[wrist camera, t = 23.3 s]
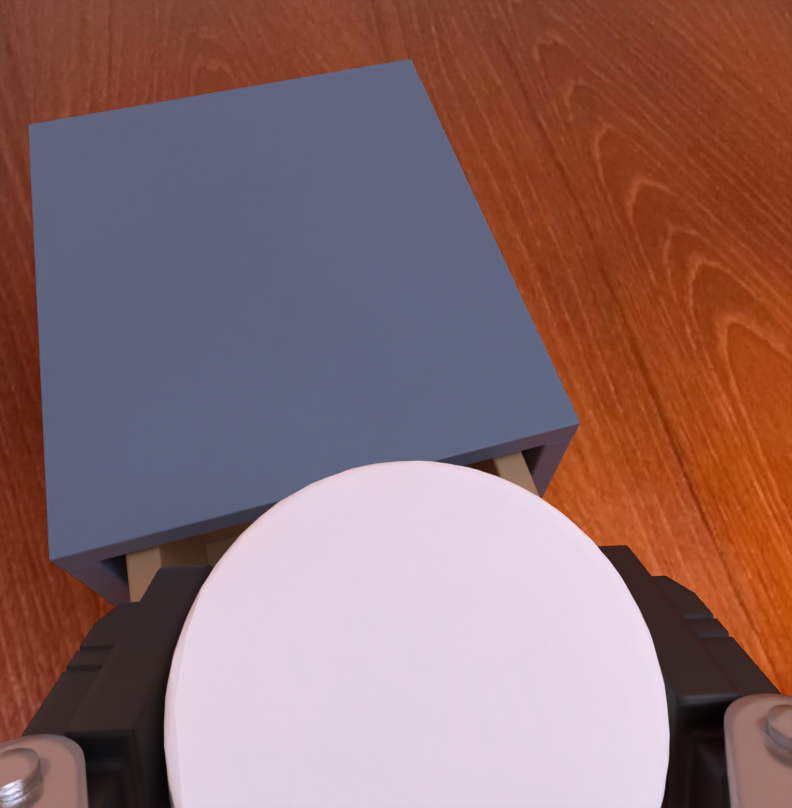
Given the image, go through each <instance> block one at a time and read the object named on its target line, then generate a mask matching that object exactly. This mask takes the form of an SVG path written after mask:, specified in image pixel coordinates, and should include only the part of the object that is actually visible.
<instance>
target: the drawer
mask: <svg viewBox="0 0 792 808" xmlns="http://www.w3.org/2000/svg"><path fill="white" fill-rule="evenodd" d="M463 467H469V468H472V469H476V470H480V471H483V472H485V473H488V474H491V475H494V476H497V477H500V478H503V479H505V480H507V481H509V482H512V483H514V484H516V485H518V486H520V487H522V488H524V489H526V490H527V491H529V492H531V493H533V494H534V495H536V496H538V497H539V494H538V492H537V489H536V487H535V484H534V482H533V480H532V477H531V475H530V472H529V470H528V467H527V465H526V463H525V460H524V458H523V455H522V453H521V451H518V452H514V453H511V454H507V455H503V456H499V457H495V458H491V459H488V460H484V461H480V462H476V463H472V464H468V465H465V466H463ZM255 521H256V520H254V521H250V522H246V523H242V524H239V525H235V526H231V527H227V528H223V529H219V530H216V531H212V532H208V533H204V534H200V535H196V536H193V537H189V538H185V539H181V540H177V541H173V542H170V543H166V544H162V545H158V546H154V547H150V548H147V549H143V550H139V551H135V552H131V553H127V554H126V563H127V573H128V583H129V592H130V602H140V600H141V598H142V597H143V595H144V593H145V591H146V590H147V588H148V586H149V584H150V583H151V581H152V579H153V578H154V576H155V574H156V572H157V571H158V569H159V568H161V567H178V566H198V565H211V566H212V567H213V569H214V567H215V565H216V564H217V563H218V561H219V560H220V559H221V558H222V556H223V555H224V554H225V553H226V551H227V550H228V549H229V548H230V547H231V545H232V544H233V543H234V542H235V541H236V540H237V538H238V537H239V536H240V535H241V534H242V533H243V532H244V531H245V530H246V529H247V528H248V527H249V526H250V525H252V524H253V523H254V522H255Z"/></svg>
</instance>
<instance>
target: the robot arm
mask: <svg viewBox="0 0 792 808" xmlns="http://www.w3.org/2000/svg"><path fill="white" fill-rule="evenodd" d="M598 548H599V549H600V550H601V552H602V553H603V554H604V555H605V556H606V557H607V559H608V560H609V561H610V562H611V564H612V565H613V566H614V568H615V569H616V571H617V572H618V573H619V575H620V576H621V577H622V579H623V581H624V583H625V584H626V586H627V588H628V590H629V592H630V593H631V595H632V597H633V599H634V601H635V602H636V604H637V606H638V608H639V610H640V612H641V614H642V616H643V619H644V621H645V623H646V625H647V627H648V629H649V632H650V635H651V638H652V641H653V644H654V648H655V651H656V655H657V659H658V662H659V666H660V670H661V673H662V677H663V680H664V686H665V692H666V700H667V710H668V721H669V733H670V737H669V763H668V769H667V774H666V782H665V790H664V796H663V800H662V804H661V808H792V696H788V695H782V694H781V693H780V692H779V691H778V689H777V688H776V687H775V686H774V685H773V684H772V682H771V681H770V680H769V679H768V678H767V677H766V675H765V674H764V673H763V672H762V671H761V670H760V668H759V667H758V666H757V665H756V664H755V663H754V662H753V660H752V659H751V658H750V657H749V656H748V655H747V653H746V652H745V651H744V650H743V649H742V648H741V646H740V645H739V644H738V643H737V642H736V641H735V639H734V638H733V637H729V634H728V631H727V630H726V629H725V628H724V627H723V625H722V624H721V623H720V622H719V621H718V620H717V619H714V618H713V614H712V613H711V611H710V610H709V609H708V608H707V607H706V606H705V604H704V603H703V602H702V601H701V600H700V599H699V598H698V596H697V595H696V594H695V593H694V592H692V591H690V590H689V589H687V588H685V587H684V586H682V585H680V584H679V583H677V582H675V581H673V580H672V579H670V578H668V577H667V576H651V575H650V574H649V572H648V571H647V570H646V569H645V567H644V566H643V565H642V564H641V562H640V561H639V560H638V558H637V557H636V556H635V555H634V553H633V552H632V551H631V549H630V548H629V547H628V546H626V545H618V546H598ZM212 570H213V567H212V566H211V565H198V566H178V567H161V568H159V569H158V571H157V572H156V574H155V576H154V578H153V579H152V581H151V583H150V584H149V586H148V588H147V590H146V591H145V593H144V595H143V597H142V598H141V600H140V602H122V603H121V604H120V605H119V606H117V607H116V608H115V609H113V610H112V611H111V612H109V613H108V614H107V615H105V616H104V617H103V618H101V619H100V620H99V621H97V622H96V623H95V624H94V626H93V627H92V629H91V630H90V632H89V633H88V635H87V636H86V638H85V639H84V641H83V642H82V644H81V645H80V651H77V652H76V653H75V655H74V656H73V658H72V659H71V661H70V662H69V664H68V665H67V671H66V672H63V673H62V675H61V676H60V678H59V679H58V681H57V682H56V684H55V685H54V687H53V688H52V690H51V691H50V693H49V694H48V696H47V697H46V699H45V700H44V702H43V704H42V705H41V707H40V708H39V710H38V711H37V713H36V714H35V716H34V717H33V719H32V720H31V722H30V723H29V725H28V726H27V728H26V730H25V731H24V733H23V734H22V736H21V737H19V738H15V739H12V740H9V741H6V742H3V743H0V808H171V805H170V798H169V791H168V776H167V766H166V757H165V749H164V715H165V697H166V690H167V684H168V679H169V674H170V669H171V664H172V659H173V654H174V651H175V648H176V645H177V642H178V640H179V637H180V634H181V631H182V629H183V626H184V623H185V621H186V618H187V616H188V613H189V611H190V609H191V607H192V605H193V603H194V601H195V599H196V597H197V595H198V593H199V591H200V589H201V587H202V586H203V584H204V583H205V581H206V580H207V578H208V576H209V575H210V573H211V572H212Z"/></svg>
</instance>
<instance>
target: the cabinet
mask: <svg viewBox="0 0 792 808" xmlns="http://www.w3.org/2000/svg"><path fill="white" fill-rule="evenodd" d="M29 147H30V168H31V189H32V210H33V231H34V252H35V273H36V294H37V315H38V336H39V356H40V377H41V398H42V419H43V440H44V461H45V482H46V503H47V524H48V545H49V560H50V561H51V562H53V563H54V564H55V565H57V566H58V567H60V568H61V569H62V570H66V571H67V572H68V573H69V574H71V575H72V576H74V577H75V578H76V579H78V580H79V581H80V582H82V583H83V584H85V585H86V586H87V587H89V588H90V589H92V590H93V591H94V592H96V593H97V594H98V595H100V596H101V597H103V598H104V599H105V600H107V601H108V602H109V603H111V604H112V605H114V606H115V607H117V606H119V605H120V604H121V603H122V602H130V592H129V583H128V573H127V563H126V554H127V553H131V552H135V551H139V550H143V549H147V548H150V547H154V546H158V545H162V544H166V543H170V542H173V541H177V540H181V539H185V538H189V537H193V536H196V535H200V534H204V533H208V532H212V531H216V530H219V529H223V528H227V527H231V526H235V525H239V524H242V523H246V522H250V521H254V520H257V519H258V518H259V517H260V516H262V515H263V514H264V513H266V512H267V511H268V510H269V509H271V508H272V507H273V506H274V505H276V504H277V503H278V502H280V501H281V500H283V499H285V498H287V497H288V496H290V495H292V494H294V493H296V492H297V491H299V490H301V489H303V488H305V487H306V486H308V485H310V484H312V483H314V482H317V481H319V480H322V479H324V478H327V477H329V476H332V475H335V474H338V473H341V472H344V471H346V470H349V469H352V468H357V467H361V466H366V465H371V464H377V463H386V462H396V461H432V462H440V463H447V464H452V465H458V466H465V465H468V464H472V463H476V462H480V461H484V460H488V459H491V458H495V457H499V456H503V455H507V454H511V453H514V452H518V451H521V453H522V455H523V458H524V460H525V463H526V465H527V467H528V470H529V472H530V475H531V477H532V480H533V482H534V484H535V487H536V489H537V492H538V494H539V497H540V498H541V499H542V497H543V495H544V493H545V491H546V489H547V487H548V485H549V483H550V481H551V479H552V477H553V475H554V473H555V471H556V469H557V467H558V465H559V463H560V461H561V459H562V457H563V455H564V453H565V451H566V449H567V447H568V445H569V443H570V441H571V439H572V437H573V436H574V434H575V432H576V430H577V429H578V427H579V425H580V421H579V419H578V417H577V415H576V413H575V411H574V408H573V406H572V404H571V402H570V400H569V398H568V396H567V393H566V391H565V389H564V387H563V385H562V383H561V381H560V378H559V376H558V374H557V372H556V370H555V368H554V366H553V363H552V361H551V359H550V357H549V355H548V353H547V351H546V348H545V346H544V344H543V342H542V340H541V338H540V335H539V333H538V331H537V329H536V327H535V325H534V323H533V320H532V318H531V316H530V314H529V312H528V310H527V308H526V305H525V303H524V301H523V299H522V297H521V295H520V293H519V290H518V288H517V286H516V284H515V282H514V280H513V278H512V275H511V273H510V271H509V269H508V267H507V265H506V263H505V260H504V258H503V256H502V254H501V252H500V250H499V248H498V245H497V243H496V241H495V239H494V237H493V235H492V233H491V230H490V228H489V226H488V224H487V222H486V220H485V218H484V215H483V213H482V211H481V209H480V207H479V205H478V203H477V200H476V198H475V196H474V194H473V192H472V190H471V188H470V185H469V183H468V181H467V179H466V177H465V175H464V173H463V170H462V168H461V166H460V164H459V162H458V160H457V158H456V155H455V153H454V151H453V149H452V147H451V145H450V142H449V140H448V138H447V136H446V134H445V132H444V130H443V127H442V125H441V123H440V121H439V119H438V117H437V115H436V112H435V110H434V108H433V106H432V104H431V102H430V100H429V97H428V95H427V93H426V91H425V89H424V87H423V85H422V82H421V80H420V78H419V76H418V74H417V72H416V70H415V67H414V65H413V63H412V61H411V59H407V60H401V61H396V62H390V63H384V64H378V65H372V66H367V67H361V68H355V69H349V70H343V71H338V72H332V73H326V74H320V75H314V76H309V77H303V78H297V79H291V80H285V81H280V82H274V83H268V84H262V85H256V86H251V87H245V88H239V89H233V90H227V91H222V92H216V93H210V94H204V95H198V96H193V97H187V98H181V99H175V100H169V101H164V102H158V103H152V104H146V105H140V106H135V107H129V108H123V109H117V110H111V111H106V112H100V113H94V114H88V115H82V116H77V117H71V118H65V119H59V120H53V121H48V122H42V123H36V124H30V125H29Z"/></svg>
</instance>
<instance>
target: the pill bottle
mask: <svg viewBox="0 0 792 808" xmlns="http://www.w3.org/2000/svg"><path fill="white" fill-rule="evenodd" d="M669 737H670V733H669V721H668V710H667V700H666V692H665V686H664V680H663V677H662V673H661V670H660V666H659V662H658V659H657V655H656V651H655V648H654V644H653V641H652V638H651V635H650V632H649V629H648V627H647V625H646V623H645V621H644V619H643V616H642V614H641V612H640V610H639V608H638V606H637V604H636V602H635V601H634V599H633V597H632V595H631V593H630V592H629V590H628V588H627V586H626V584H625V583H624V581H623V579H622V577H621V576H620V575H619V573H618V572H617V571H616V569H615V568H614V566H613V565H612V564H611V562H610V561H609V560H608V559H607V557H606V556H605V555H604V554H603V553H602V552H601V550H600V549H599V548H598V547H597V546H596V544H595V543H594V542H593V541H592V540H591V539H590V538H589V537H588V536H587V535H586V534H585V533H584V532H583V531H581V530H580V529H579V528H578V527H577V526H576V525H575V524H574V523H573V522H572V521H570V520H569V519H568V518H567V517H566V516H565V515H563V514H562V513H561V512H560V511H559V510H557V509H556V508H554V507H553V506H551V505H550V504H549V503H547V502H546V501H544V500H543V499H541V498H540V497H538V496H536V495H534V494H533V493H531V492H529V491H527V490H526V489H524V488H522V487H520V486H518V485H516V484H514V483H512V482H509V481H507V480H505V479H503V478H500V477H497V476H494V475H491V474H488V473H485V472H483V471H480V470H476V469H472V468H469V467H463V466H458V465H452V464H447V463H440V462H432V461H396V462H386V463H377V464H371V465H366V466H361V467H357V468H352V469H349V470H346V471H344V472H341V473H338V474H335V475H332V476H329V477H327V478H324V479H322V480H319V481H317V482H314V483H312V484H310V485H308V486H306V487H305V488H303V489H301V490H299V491H297V492H296V493H294V494H292V495H290V496H288V497H287V498H285V499H283V500H281V501H280V502H278V503H277V504H276V505H274V506H273V507H272V508H271V509H269V510H268V511H267V512H266V513H264V514H263V515H262V516H260V517H259V518H258V519H257V520H256V521H255V522H254V523H253V524H252V525H250V526H249V527H248V528H247V529H246V530H245V531H244V532H243V533H242V534H241V535H240V536H239V537H238V538H237V540H236V541H235V542H234V543H233V544H232V545H231V547H230V548H229V549H228V550H227V551H226V553H225V554H224V555H223V556H222V558H221V559H220V560H219V561H218V563H217V564H216V565H215V567H214V569H213V570H212V572H211V573H210V575H209V576H208V578H207V580H206V581H205V583H204V584H203V586H202V587H201V589H200V591H199V593H198V595H197V597H196V599H195V601H194V603H193V605H192V607H191V609H190V611H189V613H188V616H187V618H186V621H185V623H184V626H183V629H182V631H181V634H180V637H179V640H178V642H177V645H176V648H175V651H174V654H173V659H172V664H171V669H170V674H169V679H168V684H167V690H166V697H165V715H164V749H165V757H166V766H167V776H168V791H169V798H170V805H171V808H661V804H662V800H663V796H664V790H665V782H666V774H667V769H668V763H669Z"/></svg>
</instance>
